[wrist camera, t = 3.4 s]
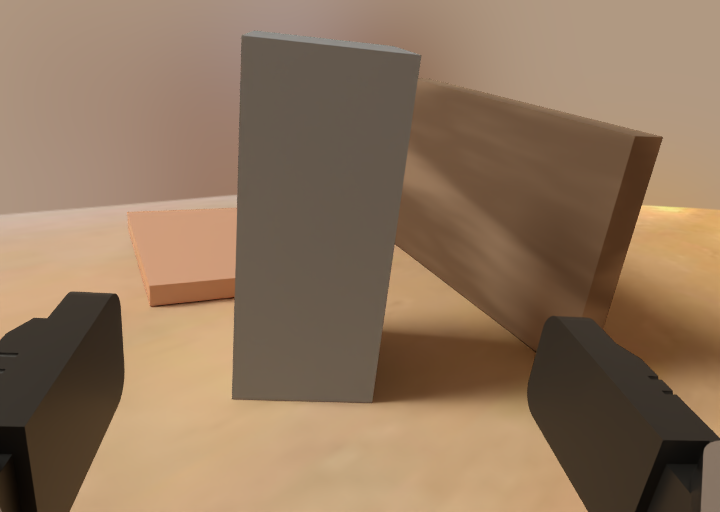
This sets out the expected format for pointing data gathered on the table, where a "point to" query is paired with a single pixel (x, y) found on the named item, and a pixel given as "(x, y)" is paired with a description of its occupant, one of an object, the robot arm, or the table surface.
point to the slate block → (317, 212)
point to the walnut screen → (521, 204)
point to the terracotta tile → (185, 253)
